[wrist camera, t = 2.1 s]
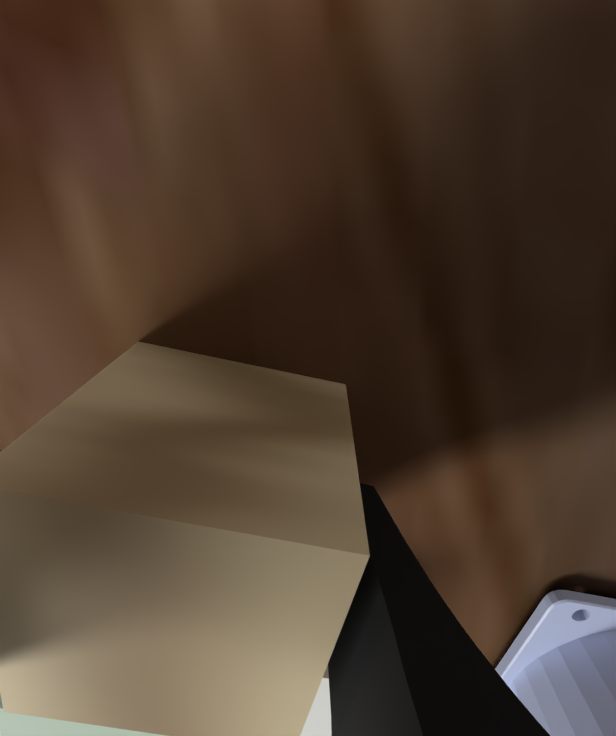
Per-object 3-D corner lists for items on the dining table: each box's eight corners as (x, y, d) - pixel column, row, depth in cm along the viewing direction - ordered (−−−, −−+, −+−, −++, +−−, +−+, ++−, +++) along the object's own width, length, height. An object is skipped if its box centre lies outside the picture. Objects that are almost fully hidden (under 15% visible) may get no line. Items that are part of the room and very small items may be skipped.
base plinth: (367, 595, 12) (380, 700, 10) (285, 798, 18) (279, 898, 15) (-93, 515, 12) (-212, 606, 9) (-30, 754, 17) (-91, 852, 14)
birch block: (345, 382, 10) (369, 555, 5) (303, 532, 12) (293, 754, 7) (139, 340, 9) (-39, 482, 5) (132, 501, 11) (4, 711, 7)
